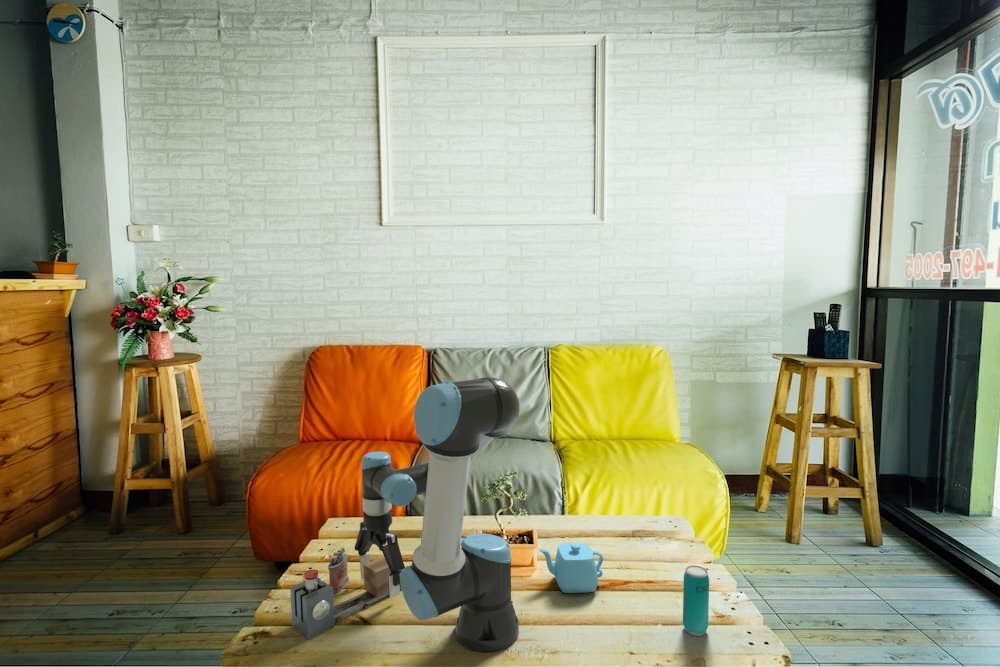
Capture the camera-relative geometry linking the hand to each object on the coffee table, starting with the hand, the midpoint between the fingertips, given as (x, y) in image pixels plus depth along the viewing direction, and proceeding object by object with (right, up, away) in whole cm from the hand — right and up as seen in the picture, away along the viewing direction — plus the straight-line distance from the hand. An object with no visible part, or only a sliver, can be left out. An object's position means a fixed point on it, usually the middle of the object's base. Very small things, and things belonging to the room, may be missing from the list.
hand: (379, 586), depth 153 cm
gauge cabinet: (-13, -4, -14) cm, 20 cm away
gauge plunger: (-13, +3, -15) cm, 20 cm away
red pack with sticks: (-12, -2, +4) cm, 13 cm away
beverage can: (+79, -3, -17) cm, 81 cm away
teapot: (+52, -2, +4) cm, 52 cm away
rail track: (-6, -3, -6) cm, 9 cm away
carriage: (0, -1, 0) cm, 1 cm away
